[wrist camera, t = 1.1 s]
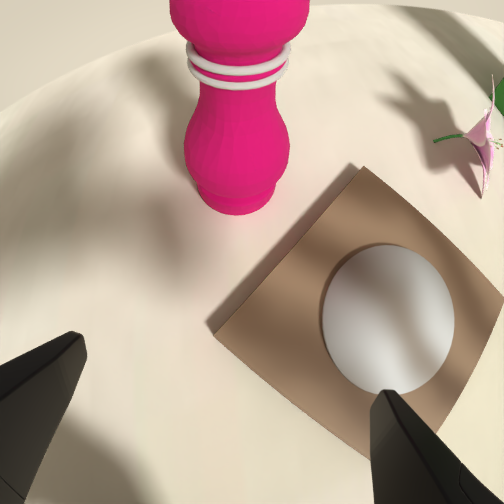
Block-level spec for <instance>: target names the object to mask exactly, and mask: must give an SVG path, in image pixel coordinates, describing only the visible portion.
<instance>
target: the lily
mask: <svg viewBox="0 0 504 504" xmlns="http://www.w3.org/2000/svg"><path fill="white" fill-rule="evenodd" d="M492 82H493V75H492ZM494 99H495V96H494V82H493V99H492V107H491V110H490V111H489V113H488V110H487V109H485V110H484V113H485V116H484V117H483V118H482V119H481V120H480V121H479V122H478V123H477V124H476V125H475V126H474V127H473V128H472V129H471V130H470V131H469V132H468V133H466V134H457V135H449V136H446V137H442V138H439V139H435V140H433V141H434V143H435V142H438V141H442V140H445V139H449V138H455V137H465V138H467V139H468V140H469V141H470V143H471V144H472V146H473V147H474V149H475V151H476V152H477V154H478V156H479V158H480V160H481V163H482V167H483V190H482V195H483V192H484V187H485V180H486V172H487V174H488V179H487V184H486V190H487V188H488V185H489V170H490V169H491V170H492V168H493V157H494V143H496V144H499V145H501V147H503V146H502V144H500V143H497V142H494V140H495V139H494V138H493V136H492V134H491V133H490V125H491V114H492V111H493V107H494ZM487 113H488V114H487ZM499 140H502V139H499ZM495 147H496V146H495ZM497 149H499V148H497ZM481 199H482V198H481Z"/></svg>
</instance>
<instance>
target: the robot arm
mask: <svg viewBox="0 0 504 504" xmlns="http://www.w3.org/2000/svg"><path fill="white" fill-rule="evenodd" d="M86 360H87V350H86V346H85V341H84V337H83V335H82V334H80V333H77V332H74V331H69V332H67V333H65V334H63V335H61V336H59V337H57V338H55V339H53V340H51V341H49V342H47V343H45V344H43V345H41V346H39V347H37V348H35V349H32V350H30V351H28V352H26V353H24V354H22V355H20V356H18V357H16V358H14V359H12V360H10V361H8V362H6V363H4V364H2V365H0V504H24V502H25V499H26V497H27V494H28V492H29V489H30V487H31V484H32V482H33V480H34V477H35V475H36V473H37V470H38V468H39V466H40V464H41V461H42V459H43V457H44V455H45V453H46V450H47V448H48V446H49V444H50V442H51V440H52V438H53V435H54V433H55V431H56V429H57V427H58V425H59V423H60V421H61V419H62V417H63V415H64V413H65V411H66V409H67V407H68V405H69V403H70V401H71V399H72V396H73V394H74V391H75V388H76V386H77V383H78V381H79V378H80V375H81V373H82V370H83V368H84V365H85V363H86ZM370 461H371V471H372V482H373V493H374V504H504V503H503V502H502V501H501V500H500V499H499V498H498V497H497V496H495V495H494V494H493V493H492V492H491V491H490V490H489V489H488V488H486V487H485V486H484V485H483V484H482V483H481V482H480V481H479V480H478V479H477V478H476V477H475V476H474V475H473V474H472V473H471V472H470V471H469V470H468V469H467V467H466V466H465V465H464V464H463V463H461V461H460V460H459V459H458V458H457V457H456V456H455V454H454V453H453V452H452V451H451V450H450V449H449V448H448V447H447V446H446V445H445V444H444V442H443V441H442V440H441V439H440V438H439V437H438V436H437V435H436V434H435V433H434V432H433V430H432V429H431V428H430V427H429V426H428V425H427V424H426V423H425V422H424V421H423V420H422V419H421V417H420V416H419V415H418V414H417V413H416V412H415V411H414V410H413V409H412V408H411V407H410V406H409V405H408V403H407V402H406V401H405V400H404V399H403V398H402V397H401V396H400V395H399V394H398V393H397V392H396V391H395V390H393V389H383V390H381V391H380V392H379V394H378V396H377V397H376V399H375V400H374V402H373V404H372V405H371V408H370Z"/></svg>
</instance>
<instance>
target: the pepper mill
mask: <svg viewBox="0 0 504 504" xmlns="http://www.w3.org/2000/svg"><path fill="white" fill-rule="evenodd" d="M309 2H310V0H170V15H171V19H172V22H173V24H174V25H175V27H176V29H177V30H178V32H179V33H180V34H181V35H182V36H183V37H184V38H185V39H186V40H188V41H187V44H186V53H187V56H188V62H187V63H188V68H189V70H190V72H191V73H192V74H193V76H194V77H195V78H197V79H198V80H199V81H200V96H199V100H198V104H197V107H196V109H195V112H194V114H193V116H192V118H191V120H190V122H189V124H188V127H187V130H186V135H185V140H184V155H185V162H186V166H187V168H188V171H189V173H190V174H191V176H192V177H193V179H194V180H195V181H196V182H197V186H198V190H199V193H200V195H201V197H202V199H203V200H204V201H205V203H206V204H207V205H209V206H210V207H211V208H212V209H214V210H216V211H218V212H220V213H223V214H228V215H245V214H249V213H252V212H255V211H257V210H259V209H260V208H262V207H263V206H264V205H265V204H266V203H267V202H268V201H269V200H270V198H271V197H272V195H273V193H274V190H275V186H276V182H277V181H278V180H279V179H280V178H281V176H282V175H283V173H284V171H285V169H286V166H287V164H288V158H289V150H290V143H289V137H288V132H287V128H286V125H285V123H284V121H283V119H282V117H281V115H280V113H279V111H278V109H277V106H276V101H275V88H276V81H277V80H278V79H279V78H281V76H282V75H283V74H284V73H285V72H286V70H287V68H288V63H289V61H288V57H289V55H290V51H291V44H290V42H289V41H290V40H292V39H293V38H294V37H295V36H297V35H298V34H299V32H300V31H301V30H302V28H303V27H304V26H305V23H306V20H307V17H308V14H309Z"/></svg>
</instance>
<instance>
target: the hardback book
mask: <svg viewBox="0 0 504 504" xmlns="http://www.w3.org/2000/svg"><path fill="white" fill-rule="evenodd" d="M494 96H495V99H494V104H495V106H496V107H497V108H498V110H499V111H500V112H501V113H502V115H503V116H504V78H503V80H502V81H501V82H500V84H499V85H498V86H497V88H496V89H495V90H494ZM489 98H490V99H491V101H492V99H493V93H492V94H491V95H490V97H489Z"/></svg>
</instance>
